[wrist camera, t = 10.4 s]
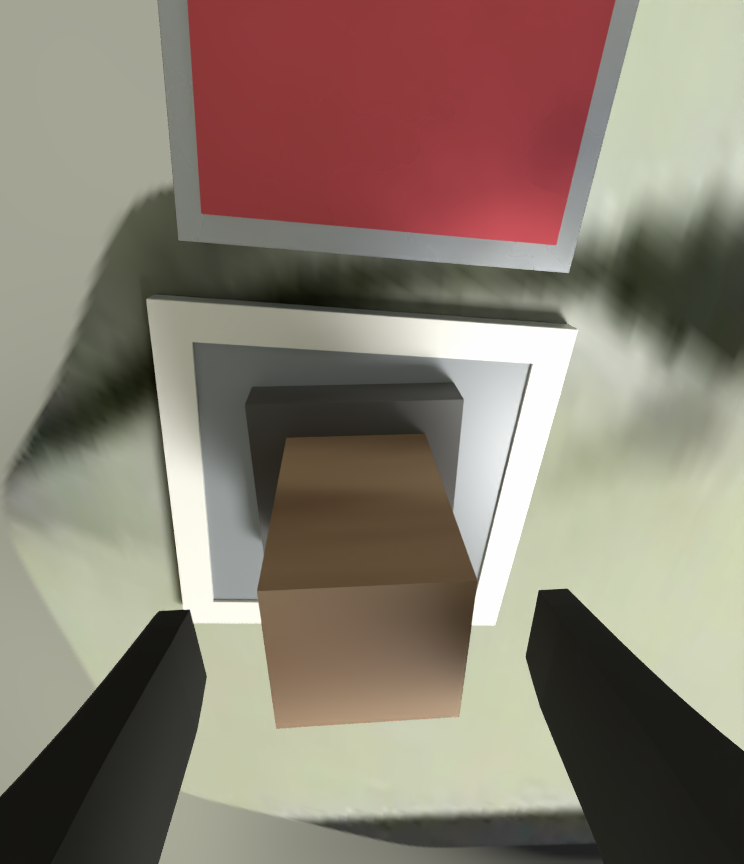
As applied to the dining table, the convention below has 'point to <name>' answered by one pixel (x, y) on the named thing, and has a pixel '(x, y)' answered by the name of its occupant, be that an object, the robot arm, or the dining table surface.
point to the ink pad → (391, 124)
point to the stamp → (361, 551)
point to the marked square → (342, 365)
